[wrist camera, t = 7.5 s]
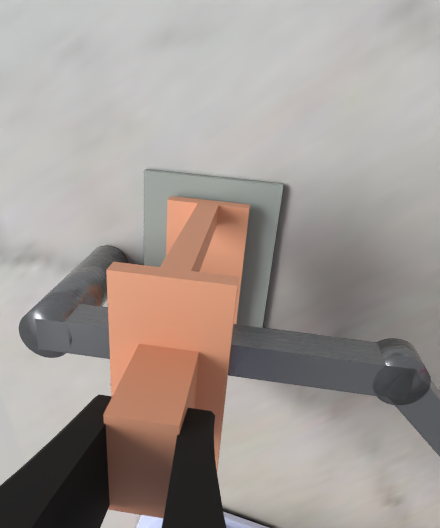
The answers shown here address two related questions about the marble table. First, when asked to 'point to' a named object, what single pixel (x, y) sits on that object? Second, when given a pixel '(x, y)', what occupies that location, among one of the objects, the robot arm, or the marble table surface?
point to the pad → (226, 190)
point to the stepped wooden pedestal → (170, 346)
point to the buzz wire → (245, 348)
